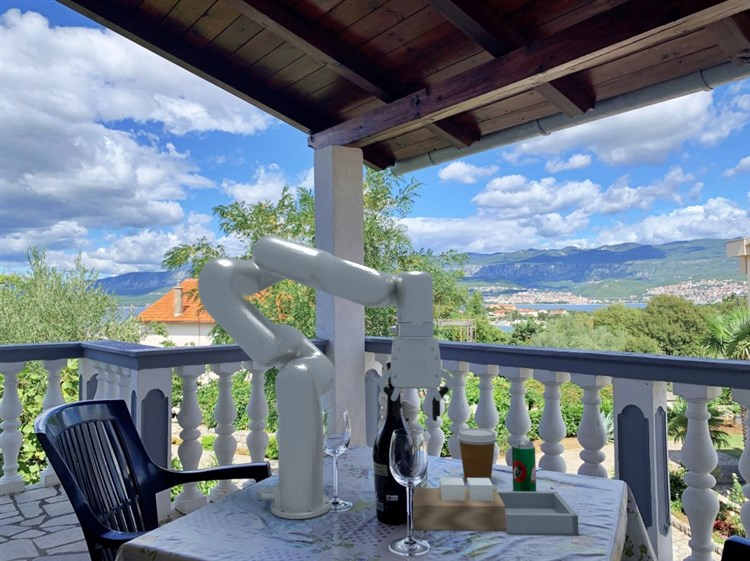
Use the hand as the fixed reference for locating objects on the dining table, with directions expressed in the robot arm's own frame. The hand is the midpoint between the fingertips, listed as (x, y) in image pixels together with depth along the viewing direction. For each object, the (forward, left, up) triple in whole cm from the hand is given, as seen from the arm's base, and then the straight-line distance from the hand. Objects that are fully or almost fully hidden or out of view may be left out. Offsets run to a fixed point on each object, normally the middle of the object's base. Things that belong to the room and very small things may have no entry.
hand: (416, 419), depth 105 cm
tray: (+23, 0, -20) cm, 30 cm away
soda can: (+24, +14, -20) cm, 35 cm away
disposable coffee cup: (+15, +24, -20) cm, 35 cm away
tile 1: (+7, 0, -15) cm, 17 cm away
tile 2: (+12, 0, -15) cm, 20 cm away
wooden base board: (+7, 0, -20) cm, 21 cm away
